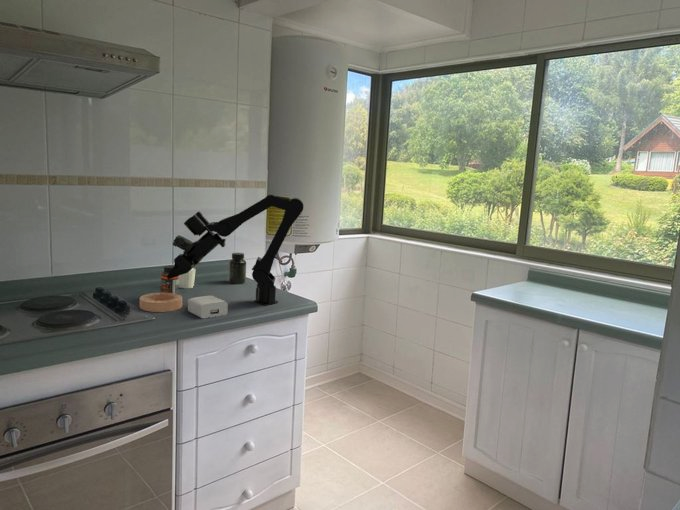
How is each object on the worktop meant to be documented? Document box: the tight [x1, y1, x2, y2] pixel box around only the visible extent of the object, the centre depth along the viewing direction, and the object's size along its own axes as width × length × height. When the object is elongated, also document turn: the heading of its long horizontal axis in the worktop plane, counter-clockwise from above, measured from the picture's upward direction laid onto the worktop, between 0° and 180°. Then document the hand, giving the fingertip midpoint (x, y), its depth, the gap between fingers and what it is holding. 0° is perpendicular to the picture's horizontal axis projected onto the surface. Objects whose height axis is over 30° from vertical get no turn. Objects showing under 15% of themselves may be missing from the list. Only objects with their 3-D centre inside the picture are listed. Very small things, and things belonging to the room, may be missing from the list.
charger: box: [186, 295, 229, 319], centre depth 168 cm, size 5×9×15 cm
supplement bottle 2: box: [228, 252, 247, 285], centre depth 210 cm, size 7×7×12 cm
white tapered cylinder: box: [179, 267, 196, 289], centre depth 198 cm, size 7×7×7 cm
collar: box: [139, 292, 183, 313], centre depth 170 cm, size 13×13×3 cm
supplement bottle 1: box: [160, 264, 180, 295], centre depth 180 cm, size 6×6×11 cm
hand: (171, 275), depth 179 cm, fingers open, 9 cm apart
